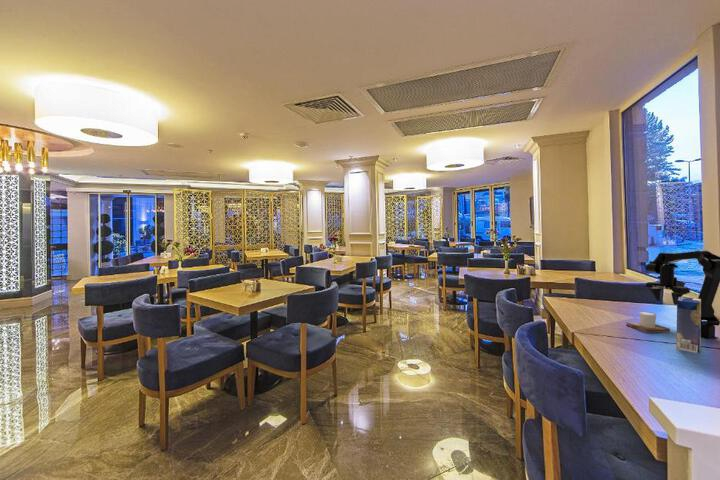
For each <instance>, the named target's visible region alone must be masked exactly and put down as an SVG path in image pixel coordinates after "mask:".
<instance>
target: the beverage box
mask: <svg viewBox="0 0 720 480" xmlns="http://www.w3.org/2000/svg"><path fill="white" fill-rule="evenodd" d="M701 340H702V338H701V299H698V297H697V298H695V297H688V296H687V297H685V296H682V297H679V298H678V300H677V305H676V347H675V348H676V350H681V351H685V352H689V353H695V354H700V353H701V352H700V351H701V342H702V341H701Z"/></svg>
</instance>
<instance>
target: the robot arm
mask: <svg viewBox="0 0 720 480" xmlns="http://www.w3.org/2000/svg"><path fill="white" fill-rule="evenodd" d="M686 260H696V261H697V262H698V264H699V265H700V266H702V271H703V273H704V276H705V277H704V280H703V283H702V286H701V288H700V291H699V294H698V297H697V299H701V339H706V340H707V339H708V340H710V339H711V340H713V339H719V337H717V336H716V326H720V320H719V319H718V318H717V316H715V309H714V307H713V303H714V300H715V297H716V295H717V291H718V288H719V286H720V256H719V255H716V254H714V253H712V252H710V251H709V250H706V249H705V250H703V249H702V250H700V249H699V250H695V251H686V252H685V251H684V252H659V253H658V254H657V256H656V257H655V259H654V260H650V261H649V263H647V264H646V265H645V271H646V272H648V273H652V274H658V276H657V279H659V282H656V281H648V282H647V283H646V284H645V287H646V288H647V289H648V290H649V291H650V292H651V293H652V295H653V296H654V298H655V300H656V301H657V302H660V301H661V291H662V290H663V289H665V290H669V291H671V293H670V294H671V297H672V302H673V305H675V306H677V300H678V298H679V297H684V295H688V294H690V292H691V291H690V290H691V289H690V288H689V287H686V286H685V285H686V282H683V281H681V280H678V278H677V277H675V269H678V268H679V266H678V265H676V263H678V262H681V261H686Z"/></svg>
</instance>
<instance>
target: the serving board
mask: <svg viewBox="0 0 720 480" xmlns="http://www.w3.org/2000/svg"><path fill="white" fill-rule="evenodd" d="M625 325H626V326H627V327H630V328H633V329H635V330H639V331H642V332H645V333H670V332H671V328H669V327H665V326H662V325H661V324H657V323H655V328H647V327H643V326H641V325H640V322H628V321H627V322H626V324H625Z"/></svg>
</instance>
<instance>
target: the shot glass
mask: <svg viewBox="0 0 720 480" xmlns="http://www.w3.org/2000/svg"><path fill="white" fill-rule="evenodd" d="M638 315H639V323H640V325H641V326H643V327H647V328H655V324H656V321H657V314H656V313H654V312H648V311H647V312H646V311H640V312H638Z"/></svg>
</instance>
